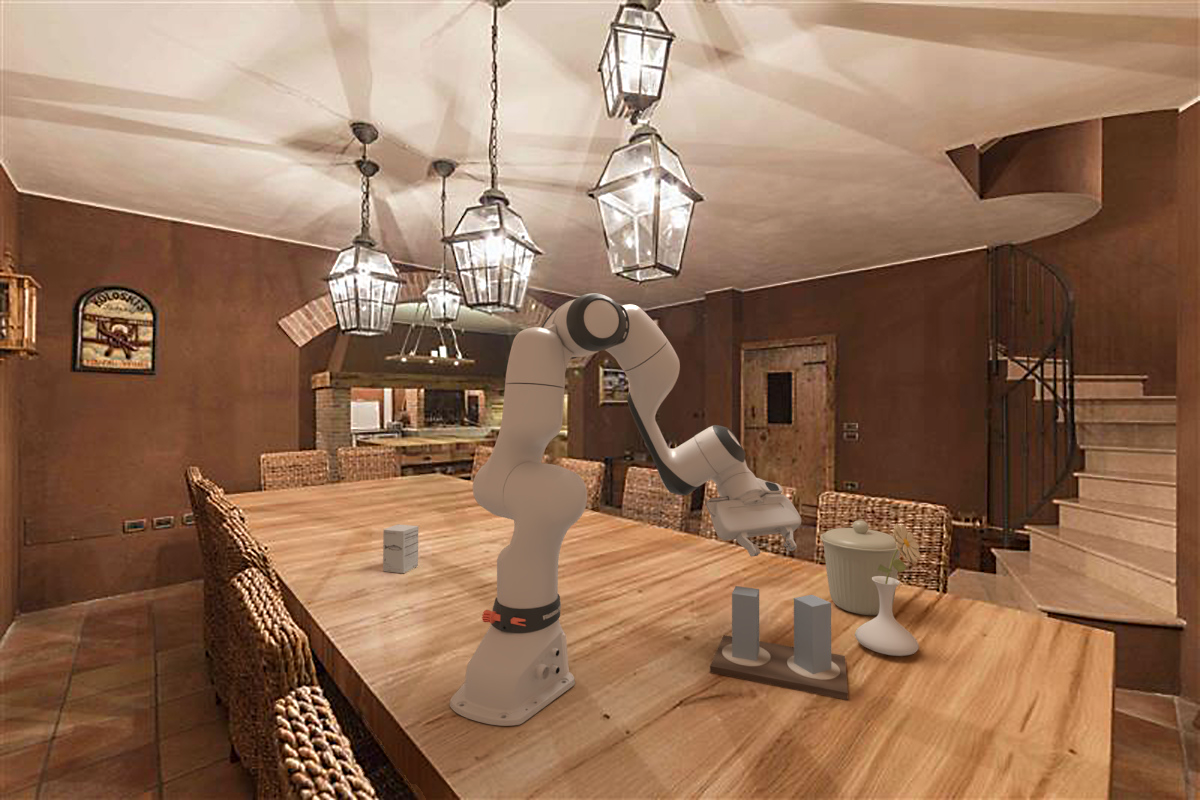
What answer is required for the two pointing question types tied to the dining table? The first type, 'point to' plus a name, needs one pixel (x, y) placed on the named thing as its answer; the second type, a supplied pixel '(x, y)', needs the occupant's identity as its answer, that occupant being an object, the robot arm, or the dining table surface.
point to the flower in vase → (890, 605)
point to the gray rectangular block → (812, 633)
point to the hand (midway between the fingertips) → (774, 552)
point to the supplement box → (400, 548)
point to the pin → (745, 623)
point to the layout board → (781, 669)
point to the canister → (857, 566)
